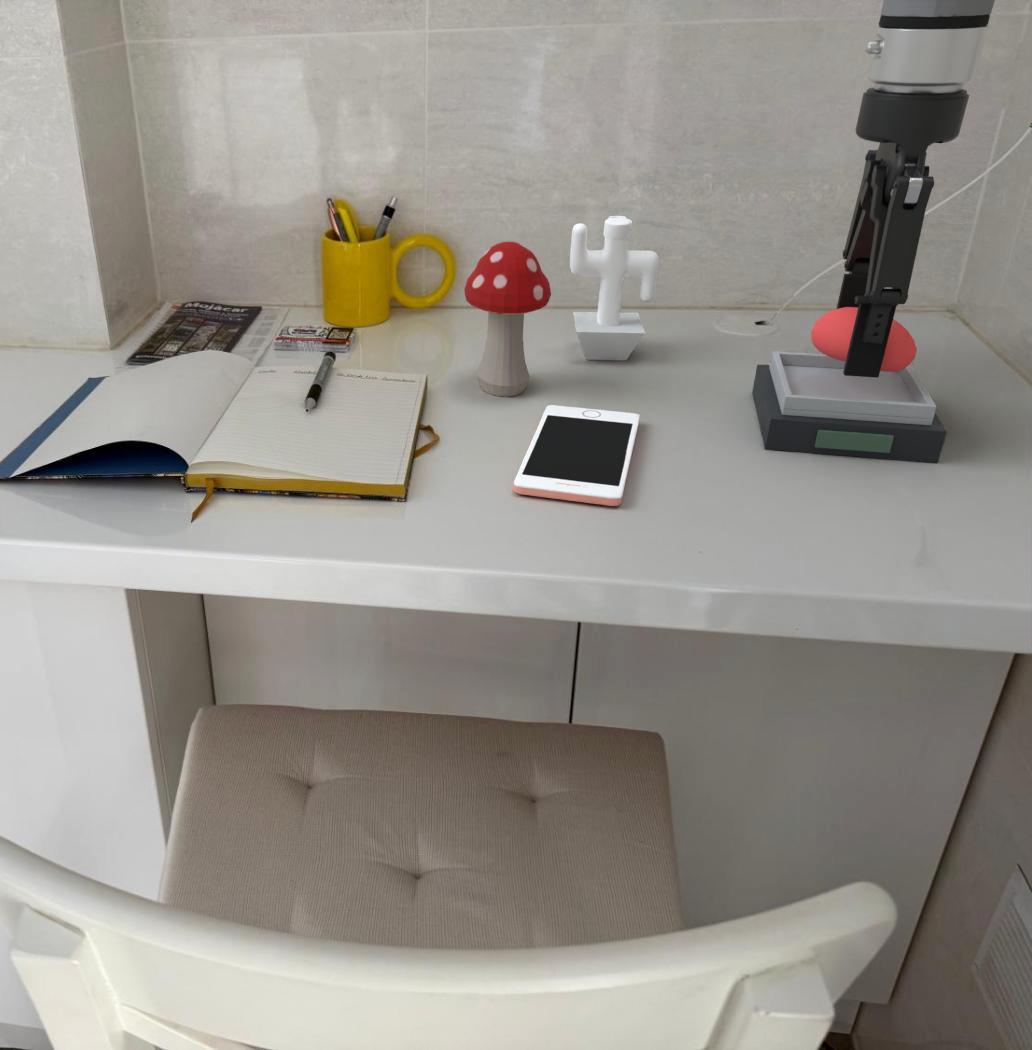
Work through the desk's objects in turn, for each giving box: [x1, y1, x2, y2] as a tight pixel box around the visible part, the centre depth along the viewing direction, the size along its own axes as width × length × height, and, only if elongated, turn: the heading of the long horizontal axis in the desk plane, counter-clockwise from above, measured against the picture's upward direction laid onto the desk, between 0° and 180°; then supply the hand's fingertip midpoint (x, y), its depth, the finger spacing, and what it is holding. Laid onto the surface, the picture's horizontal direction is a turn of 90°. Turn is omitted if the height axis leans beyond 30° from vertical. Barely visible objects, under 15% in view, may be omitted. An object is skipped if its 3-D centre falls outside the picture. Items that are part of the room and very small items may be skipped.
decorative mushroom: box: [464, 241, 552, 398], centre depth 101 cm, size 10×9×15 cm
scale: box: [751, 350, 948, 464], centre depth 92 cm, size 14×14×5 cm
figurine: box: [569, 215, 660, 361], centre depth 109 cm, size 7×9×15 cm
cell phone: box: [512, 404, 641, 507], centre depth 89 cm, size 9×18×1 cm, turn 160°
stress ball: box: [810, 307, 918, 372], centre depth 89 cm, size 5×9×6 cm, turn 19°
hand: (852, 358), depth 90 cm, fingers closed on stress ball, 8 cm apart
